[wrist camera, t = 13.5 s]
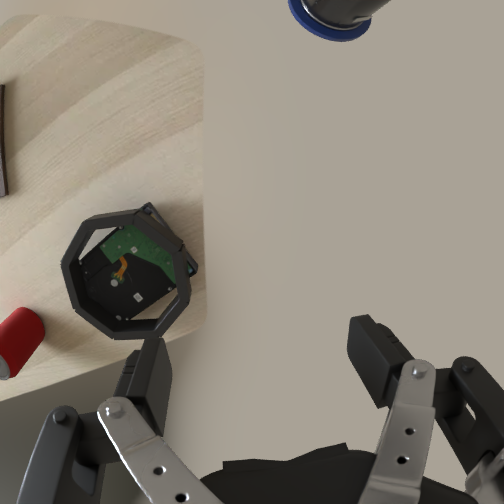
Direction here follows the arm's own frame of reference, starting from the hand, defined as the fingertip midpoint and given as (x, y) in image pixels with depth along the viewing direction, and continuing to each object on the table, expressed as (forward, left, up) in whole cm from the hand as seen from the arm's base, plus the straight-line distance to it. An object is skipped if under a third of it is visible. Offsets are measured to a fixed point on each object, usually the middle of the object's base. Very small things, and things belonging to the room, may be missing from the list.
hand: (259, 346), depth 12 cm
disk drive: (+4, -13, -26) cm, 29 cm away
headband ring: (+4, -13, -23) cm, 27 cm away
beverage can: (+12, -34, -26) cm, 45 cm away
